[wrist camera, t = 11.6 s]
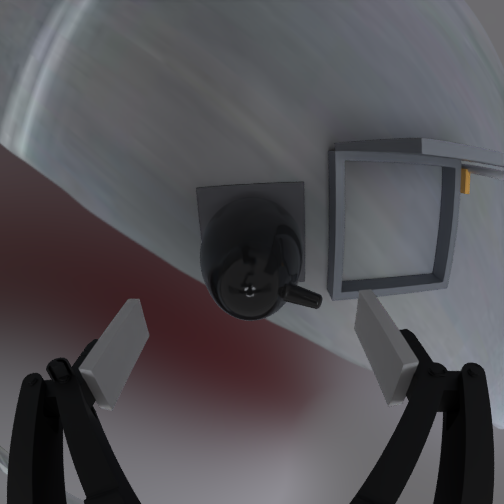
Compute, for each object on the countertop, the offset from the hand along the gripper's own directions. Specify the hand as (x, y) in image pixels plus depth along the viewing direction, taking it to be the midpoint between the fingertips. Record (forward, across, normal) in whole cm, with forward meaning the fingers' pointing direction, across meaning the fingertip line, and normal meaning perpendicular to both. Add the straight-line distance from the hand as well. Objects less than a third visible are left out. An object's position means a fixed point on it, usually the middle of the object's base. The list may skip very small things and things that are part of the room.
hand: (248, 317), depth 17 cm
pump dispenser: (+18, 0, -1) cm, 18 cm away
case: (+18, +17, 0) cm, 25 cm away
